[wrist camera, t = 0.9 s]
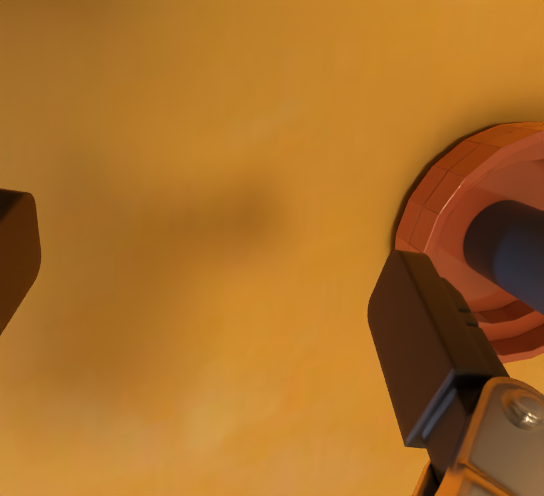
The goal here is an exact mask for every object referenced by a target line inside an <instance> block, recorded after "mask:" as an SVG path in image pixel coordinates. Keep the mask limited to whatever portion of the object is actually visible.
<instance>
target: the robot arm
mask: <svg viewBox="0 0 544 496" xmlns="http://www.w3.org/2000/svg"><path fill="white" fill-rule="evenodd" d="M40 263H41V247H40V238H39V230H38V221H37V213H36V204H35V200H34V197H33V195H32V194H31V193H27V192H21V191H14V190H7V189H1V188H0V335H1V333H2V332H3V330H4V329H5V327H6V326H7V324H8V322H9V321H10V319H11V318H12V316H13V315H14V313H15V311H16V310H17V308H18V307H19V305H20V303H21V302H22V300H23V299H24V297H25V296H26V294H27V292H28V291H29V289H30V288H31V286H32V285H33V283H34V281H35V280H36V277H37V275H38V272H39V269H40ZM368 323H369V327H370V330H371V334H372V337H373V340H374V344H375V347H376V351H377V354H378V357H379V361H380V364H381V367H382V371H383V374H384V378H385V381H386V384H387V388H388V391H389V394H390V398H391V401H392V405H393V408H394V411H395V415H396V418H397V421H398V425H399V428H400V432H401V435H402V438H403V442H404V445H405V447H414V448H426V449H427V451H428V454H429V457H430V459H429V461H428V462H427V463H426V465H425V467H424V468H423V471H422V473H421V475H420V478H419V480H418V482H417V485H416V487H415V489H414V492H413V494H412V496H544V395H543V394H541V393H540V392H539V391H537V390H536V389H534V388H533V387H531V386H530V385H528V384H526V383H524V382H522V381H519V380H516V379H513V378H510V376H509V375H508V373H507V371H506V370H505V368H504V366H503V364H502V363H501V361H500V359H499V358H498V356H497V354H496V352H495V351H494V349H493V347H492V345H491V344H490V342H489V340H488V339H487V337H486V335H485V333H484V332H483V330H482V328H479V323H478V321H477V320H476V318H475V316H474V314H472V313H471V309H470V308H469V306H468V304H467V302H466V301H465V299H464V297H463V296H462V294H461V293H460V292H459V291H458V290H457V289H456V288H455V287H454V286H453V285H452V284H451V283H450V282H449V281H448V280H447V279H446V278H443V277H440V276H439V274H438V272H437V270H436V268H435V267H434V265H433V263H432V261H431V259H430V258H429V256H428V255H427V254H423V253H416V252H410V251H403V250H396V249H395V250H393V251H392V252H391V253H390V254H389V256H388V258H387V260H386V263H385V265H384V267H383V270H382V272H381V274H380V277H379V279H378V281H377V283H376V286H375V288H374V290H373V293H372V295H371V297H370V300H369V304H368Z"/></svg>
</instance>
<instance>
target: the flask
mask: <svg viewBox="0 0 544 496" xmlns="http://www.w3.org/2000/svg"><path fill="white" fill-rule="evenodd" d="M463 252H464V257H465V259H466V262H467V263H468V265H469V266H470V267H471V268H472V269H473V270H474V271H476V272H477V273H479V274H480V275H482V276H484V277H485V278H487V279H488V280H490V281H491V282H493V283H494V284H496V285H497V286H499V287H500V288H502V289H503V290H505V291H507V292H508V293H510V294H511V295H513V296H514V297H516V298H517V299H519V300H520V301H522V302H523V303H525V304H526V305H528V306H529V307H531V308H533V309H534V310H536V311H537V312H539V313H540V314H542V315H543V316H544V211H543V210H540V209H537V208H535V207H532V206H529V205H526V204H524V203H521V202H518V201H514V200H504V201H499V202H496V203H494V204H492V205H490V206H488V207H486V208H485V209H484V210H482V211H481V212H480V213H479V214H478V215H477V216H476V217H475V218H474V219H473V221H472V222H471V224H470V226H469V227H468V229H467V232H466V234H465V238H464V243H463Z"/></svg>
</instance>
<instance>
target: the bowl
mask: <svg viewBox="0 0 544 496" xmlns="http://www.w3.org/2000/svg"><path fill="white" fill-rule="evenodd" d="M504 200H514V201H518V202H521V203H524V204H526V205H529V206H532V207H535V208H537V209H540V210H543V211H544V123H541V122H523V123H510V124H500V125H497V126H495V127H492V128H490V129H488V130H485V131H483V132H481V133H478V134H476V135H474V136H471V137H469V138H467V139H465V140H464V141H462V142H461V143H460V144H459V145H457V146H456V147H455V148H454V149H452V150H451V151H450V152H449V153H448V154H446V155H445V156H444V157H443V158H442V159H440V160H439V161H438V162H437V163H435V164H434V166H432V167H431V168H430V170H429V171H428V173H427V174H426V175H425V177H424V178H423V180H422V181H421V182H420V184H419V185H418V187H417V188H416V189H415V191H414V192H413V194H412V195H411V196H410V199H409V200H408V203H407V205H406V208H405V211H404V214H403V216H402V219H401V222H400V224H399V227H398V230H397V232H396V242H395V249H396V250H403V251H410V252H416V253H423V254H427V255H428V256H429V258H430V259H431V261H432V263H433V265H434V267H435V268H436V270H437V272H438V274H439V276H440V277H443V278H446V279H447V280H448V281H449V282H450V283H451V284H452V285H453V286H454V287H455V288H456V289H457V290H458V291H459V292H460V293H461V294H462V296H463V297H464V299H465V301H466V302H467V304H468V306H469V308H470V309H471V313H472V314H474V316H475V318H476V320H477V321H478V323H479V328H482V330H483V332H484V333H485V335H486V337H487V339H488V340H489V342H490V344H491V345H492V347H493V349H494V351H495V352H496V354H497V356H498V358H499V359H500V361H501V363H502V364H503V363H508V362H514V361H519V360H525V359H531V358H533V357H536V356H538V355H540V354H542V353H544V316H543V315H542V314H540V313H539V312H537V311H536V310H534V309H533V308H531V307H529V306H528V305H526V304H525V303H523V302H522V301H520V300H519V299H517V298H516V297H514V296H513V295H511V294H510V293H508V292H507V291H505V290H503V289H502V288H500V287H499V286H497V285H496V284H494V283H493V282H491V281H490V280H488V279H487V278H485V277H484V276H482V275H480V274H479V273H477V272H476V271H474V270H473V269H472V268H471V267H470V266H469V265H468V263H467V262H466V259H465V257H464V252H463V243H464V238H465V234H466V232H467V229H468V227H469V226H470V224H471V222H472V221H473V219H474V218H475V217H476V216H477V215H478V214H479V213H480V212H481V211H482V210H484V209H485V208H486V207H488V206H490V205H492V204H494V203H496V202H499V201H504Z"/></svg>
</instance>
